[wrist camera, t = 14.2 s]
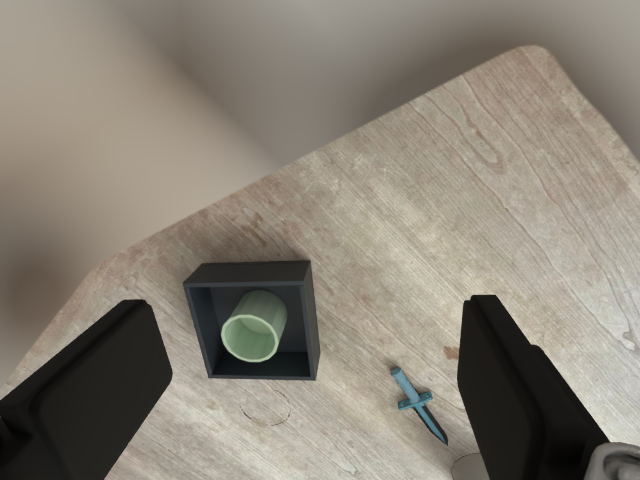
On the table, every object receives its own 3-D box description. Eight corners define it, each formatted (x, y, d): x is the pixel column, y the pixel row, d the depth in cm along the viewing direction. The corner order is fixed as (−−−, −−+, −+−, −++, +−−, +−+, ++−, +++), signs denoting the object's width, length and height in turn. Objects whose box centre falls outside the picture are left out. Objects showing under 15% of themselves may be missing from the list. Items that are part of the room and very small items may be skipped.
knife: (465, 445, 48) (433, 454, 50) (462, 437, 50) (431, 447, 51) (411, 368, 43) (377, 381, 45) (410, 362, 44) (377, 374, 46)
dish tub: (202, 263, 42) (182, 283, 38) (310, 260, 41) (303, 280, 36) (223, 351, 48) (208, 378, 43) (320, 352, 46) (315, 380, 41)
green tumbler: (233, 290, 43) (215, 315, 38) (284, 289, 42) (273, 314, 37) (242, 333, 45) (227, 361, 40) (290, 333, 44) (281, 362, 39)
